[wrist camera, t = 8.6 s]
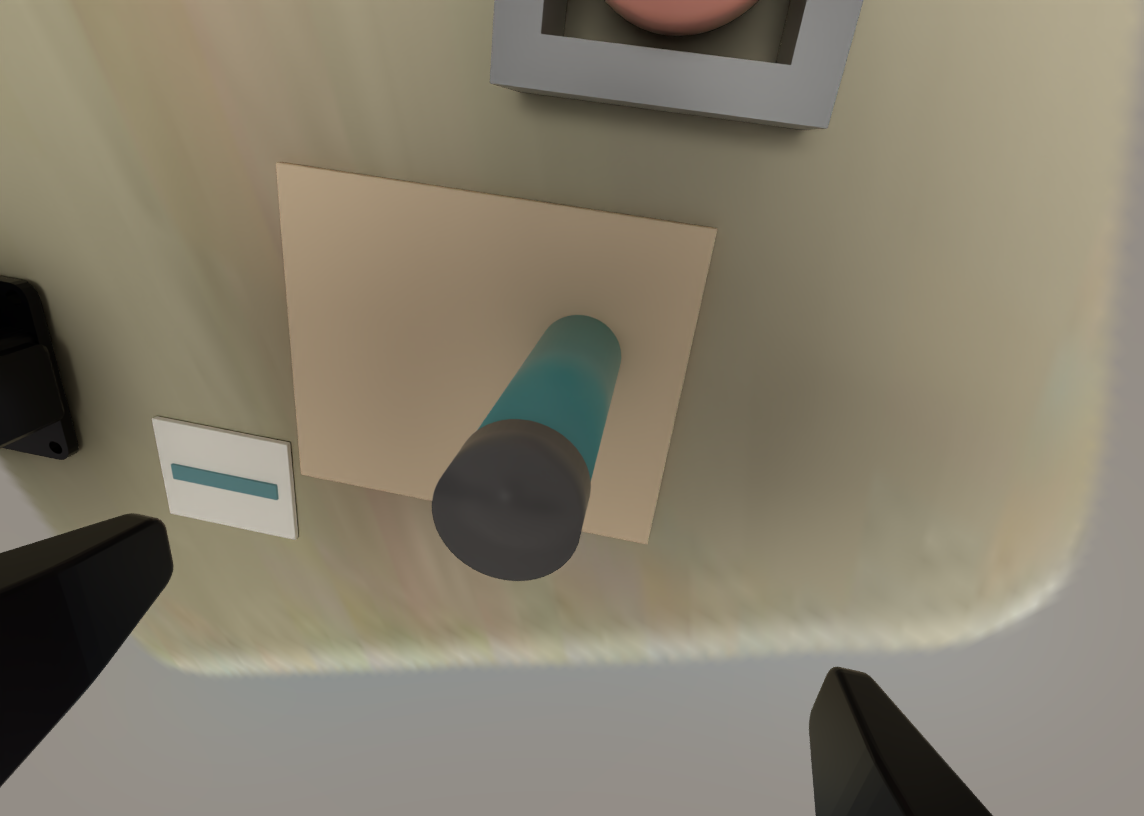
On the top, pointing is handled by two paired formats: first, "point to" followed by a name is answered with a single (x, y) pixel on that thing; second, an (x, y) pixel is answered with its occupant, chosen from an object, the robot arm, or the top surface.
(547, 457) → the marker
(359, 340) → the beige rectangular board
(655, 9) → the button
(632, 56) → the button housing
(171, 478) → the card
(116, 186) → the top surface
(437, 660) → the top surface
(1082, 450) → the top surface
